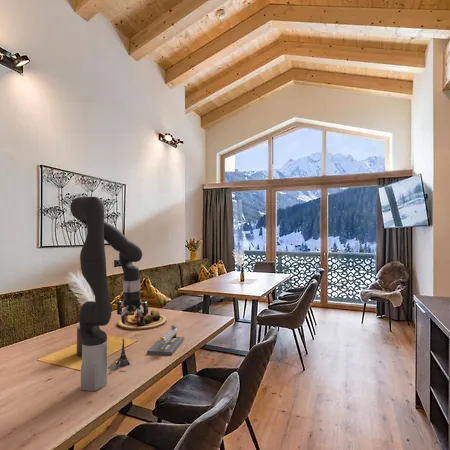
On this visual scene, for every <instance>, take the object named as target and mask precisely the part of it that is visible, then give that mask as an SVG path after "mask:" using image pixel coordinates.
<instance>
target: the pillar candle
mask: <svg viewBox="0 0 450 450" xmlns="http://www.w3.org/2000/svg"><path fill="white" fill-rule="evenodd" d="M75 353H76V356H78V357H81V358H82V339H81V336H80V324H79V325H78V326H76V352H75Z"/></svg>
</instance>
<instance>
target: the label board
mask: <svg viewBox="0 0 450 450" xmlns="http://www.w3.org/2000/svg"><path fill="white" fill-rule="evenodd" d="M183 340H184V341H185V336H176V338H171V339H170V340H169V341H168V342H167V343H166V344H158V340H156V341H155V342H154V343H153V344H152V345H151V346H150V347H149V348H148V349H147V351H146V354H147V355H162V356H173V355H174V353H176V351H177V350H178V349H179V347H180V346H181V344H182V343H183V342H184V341H183Z"/></svg>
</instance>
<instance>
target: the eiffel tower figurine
mask: <svg viewBox="0 0 450 450" xmlns="http://www.w3.org/2000/svg"><path fill="white" fill-rule="evenodd" d="M121 345H122V347H121V348H122V349H121V353H120V357H118V358H117V359H115V361H113V362H112V363H111V364H110V365H109V366H107V370H108V371H113V372H114V371H115V372H116V371H117V370H118V369H121V368H126V367H128V366H130V365H131V366H132V364H131V362H130V361H129V360H128V357H127V356H126V351H125V339H124V338H122V344H121ZM118 372H119V373H122V372H125V373H127V370H119V371H118Z"/></svg>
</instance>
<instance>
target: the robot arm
mask: <svg viewBox="0 0 450 450" xmlns="http://www.w3.org/2000/svg"><path fill="white" fill-rule="evenodd" d="M69 206H70V207H69V208H70V212H71V215H72V216H73V217H74V218H75V219H76V220H78V221H79V222H80V223H82V224H83V225H85V226H86V237H85V241H84V243H83V245H82V248H81V250H80V253H79V254H80V255H79V262H80V270H81V274H82V276H83V278H84V280H85V281H86V282H87V285H88V286H90V288H91V290H92V292H93V295H94V301H92V300H89V301H86V302H84V303H82V305H81V307H80V310H79V325H80V336H81V339H82V357H81V365H80V391H87V392H96V391H97V390H100V389H102V388H104V387H106V386H107V384H108V374H107V373H108V335H107V332H106V331H104V330H102V329H101V328H99V327H103V326H104V327H105V326H107V325H108V324H109V323H110V320H111V318H112V304H111V298H110V292H109V286H108V278H107V277H108V276H107V275H108V274H107V262H106V261H107V258H106V248H105V242H106V243H107V244H108V245H109V246H110V247H112V248H113V250H115V251H116V252H119V253H118V258H119V259H118V260H119V263H120V265H121V269H122V271H123V272H122V273H123V274H122V276H123V283H122V286H123V287H122V290H123V301H122V300H119V301H117V303H116V314H117V316H118V315H120V316H121V317H120V319H121V321H122V323H123V324H125V323H126V315H125V314H126V312H127V311H133V312H134V313H135V312H136V313H138V314H139V315H140V325H142V324H143V323H144V316H146V315H147V314H148V313H149V306H148V301H147V300H146V301H142V300H141V297H142V296H141V280H140V269H139V267H138V266H136V265H134V264H133V263H137V262H140V261H141V260H142V258H143V251H142V249H141V248H140V246H138V245H137V243H134V242H133V241H131V240H130V239H128V238H127V237H126V236H125V234H123V232H121V231H120V229H118V228H117V227H115V226H114V225H112V224H110V223H109V222H107V221H105V205H104V202H103V201H102V200H101V198H99V197H98V196H79V197H76V198H74V199H73V200H72V201H71V203H70V205H69ZM123 307H124V309H123Z"/></svg>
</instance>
